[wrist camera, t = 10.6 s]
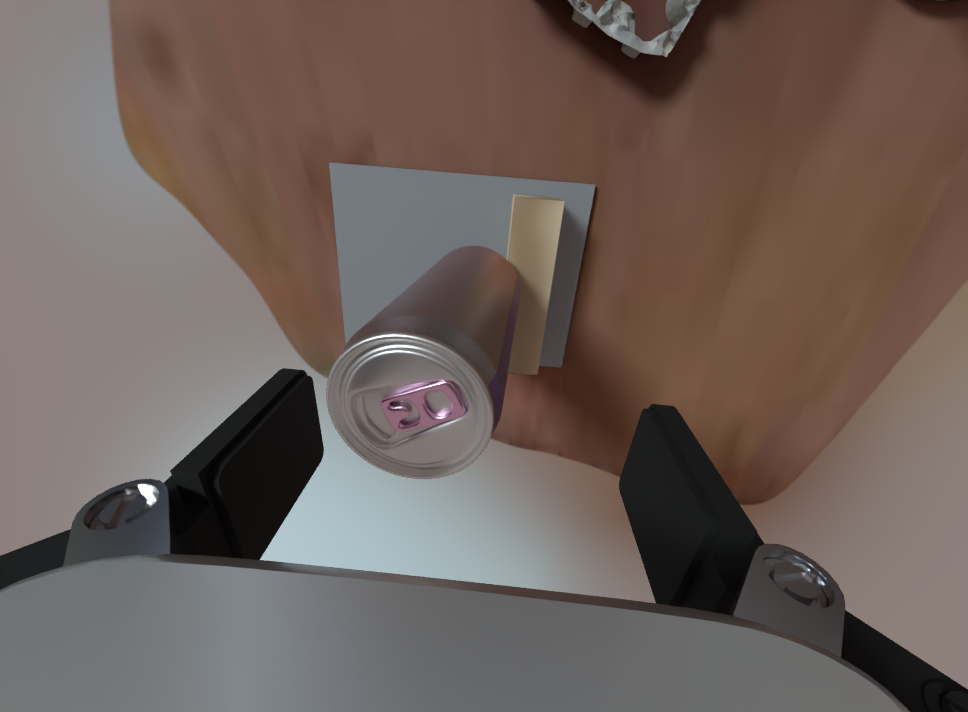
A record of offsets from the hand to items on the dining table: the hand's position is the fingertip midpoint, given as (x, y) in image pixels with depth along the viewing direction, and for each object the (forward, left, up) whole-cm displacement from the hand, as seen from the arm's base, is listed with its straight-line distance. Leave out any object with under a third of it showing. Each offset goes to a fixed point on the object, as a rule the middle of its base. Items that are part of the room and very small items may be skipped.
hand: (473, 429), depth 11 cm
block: (-3, +1, -20) cm, 20 cm away
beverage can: (+1, +1, -16) cm, 16 cm away
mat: (+2, +1, -20) cm, 20 cm away
